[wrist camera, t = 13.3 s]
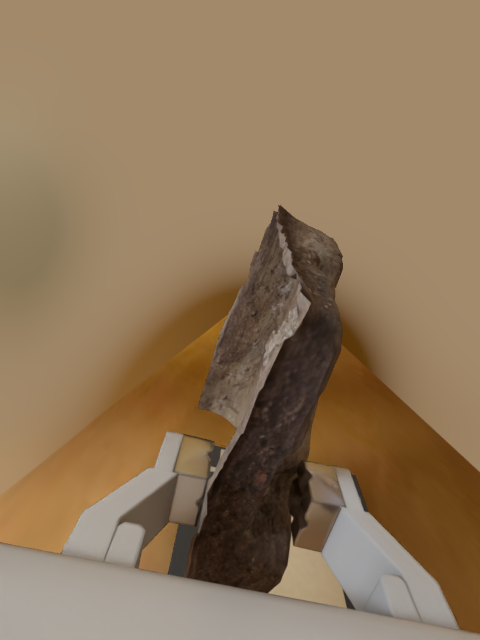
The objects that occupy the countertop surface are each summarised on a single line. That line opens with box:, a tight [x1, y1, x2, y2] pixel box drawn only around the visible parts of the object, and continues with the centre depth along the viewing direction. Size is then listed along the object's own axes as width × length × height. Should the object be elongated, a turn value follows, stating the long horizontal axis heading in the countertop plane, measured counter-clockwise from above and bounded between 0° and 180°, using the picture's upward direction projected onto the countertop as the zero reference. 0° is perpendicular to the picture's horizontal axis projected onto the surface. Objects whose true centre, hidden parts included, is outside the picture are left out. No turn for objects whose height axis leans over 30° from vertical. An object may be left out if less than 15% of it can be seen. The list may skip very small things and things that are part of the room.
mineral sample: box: [184, 206, 343, 593], centre depth 16 cm, size 17×4×15 cm, turn 177°
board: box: [168, 446, 368, 610], centre depth 30 cm, size 18×20×2 cm
